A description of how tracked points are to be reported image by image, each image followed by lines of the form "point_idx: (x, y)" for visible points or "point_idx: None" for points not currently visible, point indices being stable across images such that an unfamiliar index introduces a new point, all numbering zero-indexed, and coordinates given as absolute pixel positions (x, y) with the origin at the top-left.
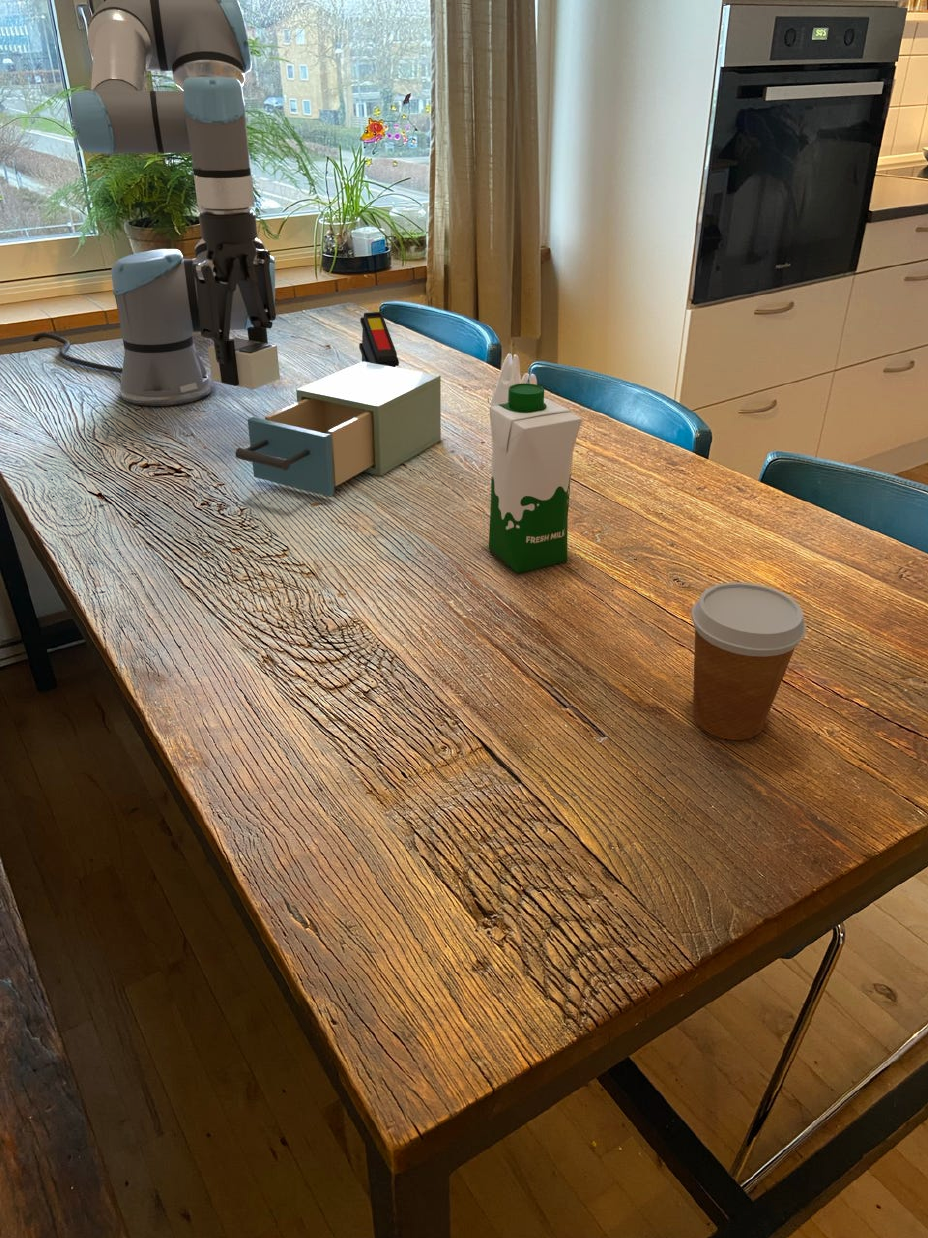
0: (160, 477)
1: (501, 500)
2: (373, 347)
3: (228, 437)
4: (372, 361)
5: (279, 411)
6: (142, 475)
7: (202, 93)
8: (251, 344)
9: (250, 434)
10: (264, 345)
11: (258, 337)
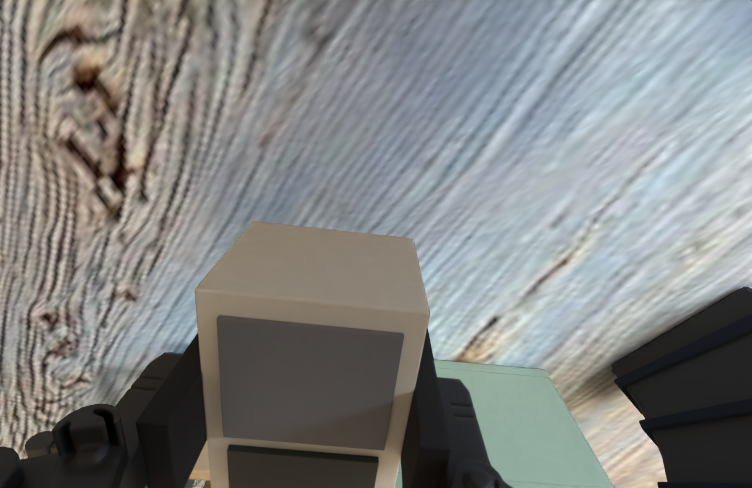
0: (67, 162)
1: None
2: None
3: (352, 150)
4: (723, 450)
5: (195, 475)
6: (43, 114)
7: None
8: (336, 445)
9: None
10: None
11: (403, 460)
